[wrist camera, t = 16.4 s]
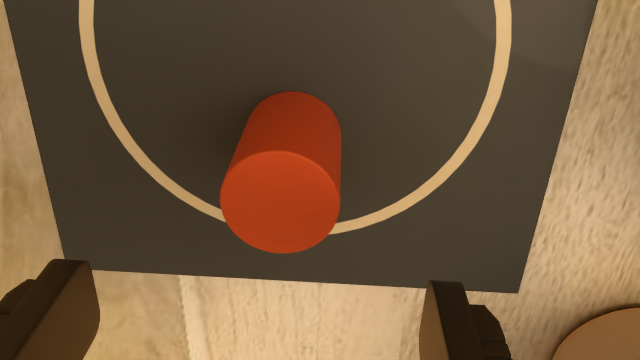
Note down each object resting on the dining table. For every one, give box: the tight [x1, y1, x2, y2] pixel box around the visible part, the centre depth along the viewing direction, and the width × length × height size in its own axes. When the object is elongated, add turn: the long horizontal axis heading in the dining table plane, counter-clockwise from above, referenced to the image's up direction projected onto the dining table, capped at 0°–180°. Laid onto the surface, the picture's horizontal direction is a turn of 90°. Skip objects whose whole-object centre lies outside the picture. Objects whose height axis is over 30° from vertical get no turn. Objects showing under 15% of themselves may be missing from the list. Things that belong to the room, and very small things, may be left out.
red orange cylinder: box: [220, 91, 341, 253], centre depth 18 cm, size 4×4×5 cm
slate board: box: [3, 0, 598, 293], centre depth 19 cm, size 20×20×1 cm
